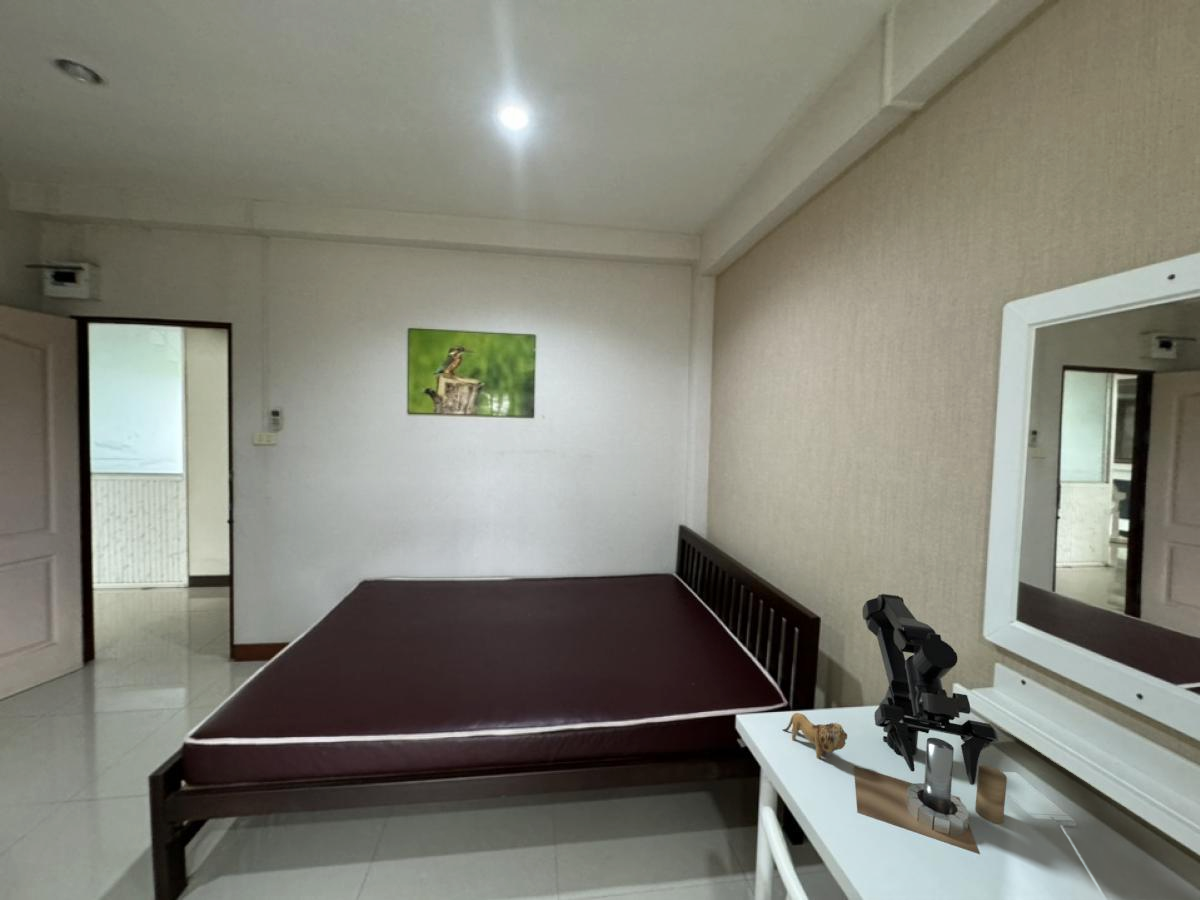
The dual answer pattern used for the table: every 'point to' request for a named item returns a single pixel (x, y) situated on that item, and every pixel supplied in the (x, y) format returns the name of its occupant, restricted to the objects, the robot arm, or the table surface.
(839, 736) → the lion figurine
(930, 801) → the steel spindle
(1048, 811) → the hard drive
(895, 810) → the walnut board
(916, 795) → the grey stone ring
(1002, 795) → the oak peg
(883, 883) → the table surface
